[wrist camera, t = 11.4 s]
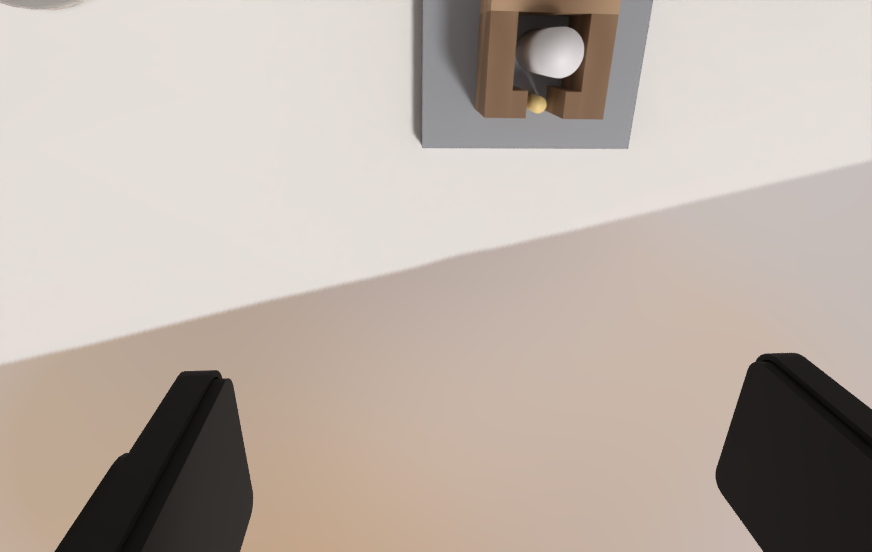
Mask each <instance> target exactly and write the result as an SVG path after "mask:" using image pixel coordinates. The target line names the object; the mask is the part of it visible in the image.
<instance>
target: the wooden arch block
mask: <svg viewBox="0 0 872 552" xmlns="http://www.w3.org/2000/svg"><path fill="white" fill-rule="evenodd" d="M620 4H621V0H481V3H480V22H479V41H478V60H477V79H476V98H475V110H476V111H477V112H479V113H480V114H481V115H482V116H483V117H484V118H526V109H527V98H528V91H527V90H524V89H522V88H519V87H517V86H514V85H513V78H514V65H515V53H516V40H517V28H518V15H532V16H566V17H569V24H568V27H569V28H572V29H574V30H575V31H576V32H577V33H578V34H579V35H580V36H581V38H582V40H583V44H584V56H583V60H582V62H581V64H580V66H579V67H578V69H577V70H576V71H575V72H574V73H572V74H571V75H569V76H567V77H564V78H562V84H561V86H547V95H546V103H547V105H546V108H545V111H547V112H549V113H551V114H553V115H555V116H558V117H560V118H562V119H598V120H603V116H604V109H605V103H606V96H607V89H608V83H609V76H610V70H611V63H612V56H613V50H614V43H615V37H616V30H617V24H618V17H619V10H620Z"/></svg>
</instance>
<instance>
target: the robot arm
mask: <svg viewBox="0 0 872 552" xmlns="http://www.w3.org/2000/svg"><path fill="white" fill-rule="evenodd" d="M85 1H87V0H0V3H2V4H6V5H9V6H12V7H19V8H26V9H36V10H57V9H62V8H67V7H73V6H76V5H78V4H81V3H83V2H85ZM716 482H717V485H718V488H719V489H720V491H721V493H722V495H723V496H724V497H725V499H726V500H727V502H728V503H729V504H730V506H731V507H732V508H733V510H734V511H735V513H736V514H737V515H738V517H739V518H740V520H741V521H742V522H743V524H744V525H745V527H746V528H747V529H748V531H749V532H750V533H751V535H752V536H753V538H754V539H755V541H756V542H757V543H758V545H759V546H760V547H761V549H762V550H763V552H872V409H870V408H869V407H868V406H867V405H865V404H864V403H863V402H861V401H860V400H859V399H858V398H856V397H855V396H854V395H852V394H851V393H850V392H848V391H847V390H846V389H845V388H843V387H842V386H841V385H839V384H838V383H837V382H836V381H834V380H833V379H832V378H831V377H829V376H828V375H827V374H825V373H824V372H823V371H821V370H820V369H819V368H818V367H816V366H815V365H814V364H812V363H811V362H810V361H809V360H807V359H806V358H805V357H803V356H802V355H800V354H796V353H774V354H773V353H772V354H763V355H761V356H760V357H758V358H757V360H756V362H754V363H752V364H751V365H750V366H749V368H748V371H747V374H746V377H745V380H744V383H743V386H742V390H741V393H740V396H739V399H738V402H737V405H736V409H735V412H734V415H733V418H732V421H731V424H730V427H729V431H728V434H727V437H726V440H725V443H724V446H723V450H722V453H721V456H720V459H719V462H718V465H717V468H716ZM252 507H253V491H252V486H251V480H250V475H249V469H248V464H247V458H246V453H245V448H244V442H243V436H242V431H241V425H240V420H239V415H238V409H237V404H236V398H235V393H234V388H233V383H232V381H231V380H230V379H229V378H228V379H222V376H221V374H220V372H219V371H217V370H213V371H184V372H181V373H180V375H179V376H178V377H177V379H176V380H175V382H174V383H173V385H172V386H171V388H170V390H169V391H168V393H167V394H166V396H165V397H164V399H163V400H162V402H161V404H160V405H159V407H158V408H157V410H156V412H155V413H154V415H153V416H152V418H151V419H150V421H149V422H148V424H147V425H146V427H145V428H144V430H143V431H142V433H141V435H140V436H139V438H138V439H137V441H136V442H135V444H134V445H133V447H132V449H131V450H130V452H129V453H125V454H123V455H121V456H120V457H118V459H117V460H116V461H115V462H114V464H113V465H112V466H111V468H110V469H109V470H108V472H107V474H106V475H105V476H104V478H103V479H102V481H101V483H100V484H99V486H98V487H97V489H96V490H95V492H94V493H93V495H92V496H91V498H90V499H89V501H88V502H87V504H86V505H85V507H84V508H83V510H82V511H81V513H80V514H79V516H78V517H77V519H76V520H75V522H74V523H73V525H72V526H71V528H70V529H69V531H68V532H67V534H66V535H65V537H64V538H63V540H62V541H61V543H60V544H59V546H58V548H57V549H56V550H55V552H240V550H241V546H242V543H243V540H244V536H245V533H246V530H247V527H248V523H249V520H250V517H251V513H252Z"/></svg>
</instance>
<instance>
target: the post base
mask: <svg viewBox="0 0 872 552" xmlns="http://www.w3.org/2000/svg"><path fill="white" fill-rule="evenodd" d="M480 3H481V0H422V148H554V149H628V146H629V140H630V134H631V128H632V122H633V116H634V110H635V104H636V98H637V92H638V86H639V80H640V74H641V69H642V63H643V57H644V51H645V45H646V39H647V33H648V27H649V21H650V15H651V9H652V3H653V0H621V4H620V10H619V17H618V24H617V30H616V37H615V43H614V50H613V56H612V63H611V70H610V76H609V83H608V89H607V96H606V103H605V109H604V116H603V120H598V119H562V118H560V117H558V116H555V115H553V114H551V113H549V112H547V111H545V108H546V105H547V103H546V95H547V86H561V84H562V78H564V77H567V76H569V75H571V74H572V73H574V72H575V71H576V70H577V69H578V67H579V66H580V64H581V62H582V60H583V56H584V44H583V40H582V38H581V36H580V35H579V34H578V33H577V32H576V31H575V30H574V29H572V28H569V27H568V24H569V17H566V16H532V15H518V28H517V40H516V53H515V65H514V78H513V85H514V86H517V87H519V88H522V89H524V90H527V91H528V98H527V109H526V118H484V117H483V116H482V115H481V114H480V113H479V112H477V111H476V110H475V98H476V79H477V60H478V41H479V22H480Z"/></svg>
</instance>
